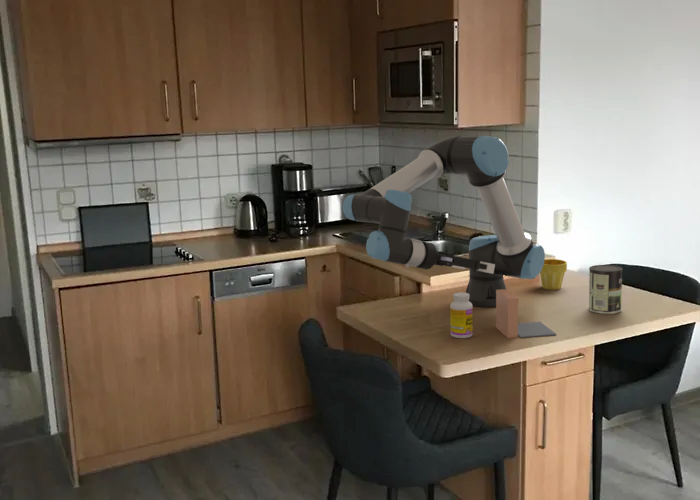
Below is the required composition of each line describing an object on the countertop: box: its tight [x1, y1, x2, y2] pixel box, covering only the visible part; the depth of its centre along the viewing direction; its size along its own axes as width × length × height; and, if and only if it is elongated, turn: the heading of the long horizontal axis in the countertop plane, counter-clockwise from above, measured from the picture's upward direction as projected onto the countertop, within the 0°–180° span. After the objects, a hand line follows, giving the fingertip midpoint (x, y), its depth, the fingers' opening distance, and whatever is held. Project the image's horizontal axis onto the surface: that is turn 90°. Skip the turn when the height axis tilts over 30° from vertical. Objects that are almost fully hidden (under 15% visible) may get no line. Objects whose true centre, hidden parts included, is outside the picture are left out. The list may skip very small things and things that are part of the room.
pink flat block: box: [495, 288, 519, 339], centre depth 228 cm, size 3×11×12 cm, turn 7°
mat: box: [518, 321, 557, 339], centre depth 230 cm, size 11×13×1 cm
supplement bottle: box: [449, 291, 474, 339], centre depth 226 cm, size 7×7×13 cm
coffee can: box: [588, 264, 624, 315], centre depth 247 cm, size 10×10×14 cm
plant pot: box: [539, 258, 568, 291], centre depth 279 cm, size 10×10×10 cm
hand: (478, 267), depth 221 cm, fingers open, 13 cm apart
